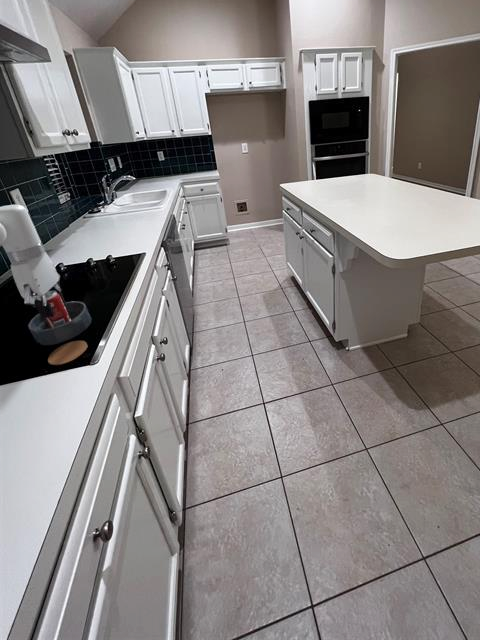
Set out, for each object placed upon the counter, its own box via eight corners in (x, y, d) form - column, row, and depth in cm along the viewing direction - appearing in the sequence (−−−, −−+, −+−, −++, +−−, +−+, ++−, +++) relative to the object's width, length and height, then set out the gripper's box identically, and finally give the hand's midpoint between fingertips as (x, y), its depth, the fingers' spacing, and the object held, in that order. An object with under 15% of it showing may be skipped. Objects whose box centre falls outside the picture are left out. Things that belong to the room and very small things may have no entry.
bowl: (30, 353, 85) (21, 337, 83) (44, 324, 97) (36, 309, 95) (88, 336, 89) (81, 321, 87) (95, 311, 101) (88, 296, 99)
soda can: (56, 326, 94) (39, 292, 89) (75, 322, 95) (60, 288, 90) (49, 336, 90) (32, 301, 85) (70, 332, 91) (54, 297, 86)
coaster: (41, 368, 79) (40, 367, 79) (59, 344, 87) (59, 343, 87) (78, 362, 80) (77, 361, 80) (93, 339, 88) (92, 338, 88)
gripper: (31, 242, 89) (56, 296, 97) (-13, 269, 74) (21, 331, 82) (59, 239, 90) (81, 293, 98) (21, 265, 75) (51, 327, 82)
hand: (53, 309), depth 90 cm, fingers closed on soda can, 5 cm apart
